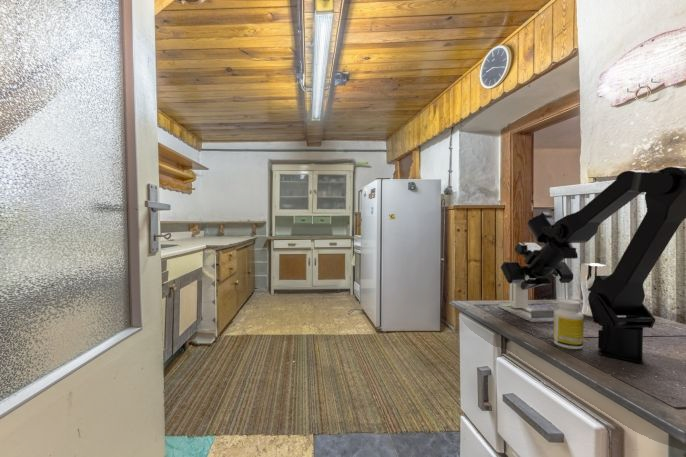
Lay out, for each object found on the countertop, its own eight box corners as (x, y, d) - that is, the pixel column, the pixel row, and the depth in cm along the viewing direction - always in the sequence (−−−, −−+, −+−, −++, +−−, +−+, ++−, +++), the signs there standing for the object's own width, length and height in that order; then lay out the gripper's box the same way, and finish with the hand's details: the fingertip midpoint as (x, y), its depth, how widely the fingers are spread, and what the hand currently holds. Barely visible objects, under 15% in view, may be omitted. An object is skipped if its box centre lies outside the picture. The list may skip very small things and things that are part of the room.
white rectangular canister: (528, 308, 98) (528, 272, 98) (515, 308, 98) (515, 272, 98) (521, 305, 101) (522, 271, 101) (509, 305, 101) (509, 271, 101)
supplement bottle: (589, 350, 69) (590, 304, 69) (563, 349, 69) (564, 304, 69) (571, 340, 75) (572, 298, 74) (548, 340, 75) (548, 298, 74)
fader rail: (555, 321, 89) (555, 310, 89) (531, 321, 89) (531, 311, 88) (519, 306, 105) (519, 297, 105) (498, 307, 104) (498, 297, 104)
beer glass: (585, 317, 93) (586, 265, 93) (575, 311, 100) (576, 262, 100) (614, 319, 91) (615, 266, 91) (602, 313, 98) (603, 263, 98)
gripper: (566, 233, 93) (538, 266, 104) (505, 233, 91) (483, 267, 102) (589, 265, 85) (556, 296, 96) (522, 265, 83) (497, 297, 95)
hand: (522, 288), depth 98 cm, fingers closed, pressing on white rectangular canister
